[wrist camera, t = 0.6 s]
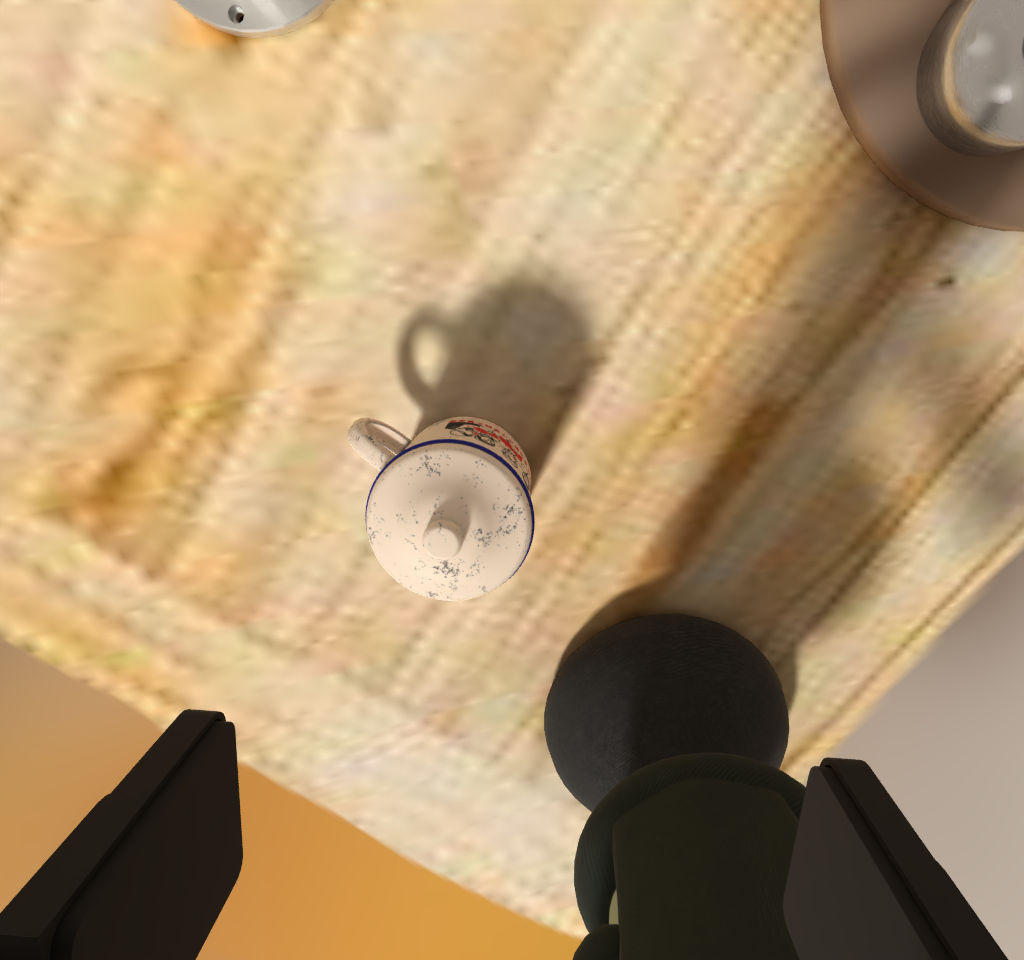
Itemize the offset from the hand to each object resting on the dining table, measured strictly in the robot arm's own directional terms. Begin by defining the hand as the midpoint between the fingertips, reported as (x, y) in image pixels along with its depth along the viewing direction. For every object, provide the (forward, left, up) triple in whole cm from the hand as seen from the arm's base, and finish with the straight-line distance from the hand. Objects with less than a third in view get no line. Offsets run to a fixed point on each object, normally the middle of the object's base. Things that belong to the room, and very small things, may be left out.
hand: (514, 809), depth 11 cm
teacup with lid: (-2, -6, -33) cm, 34 cm away
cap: (+6, +29, -30) cm, 42 cm away
